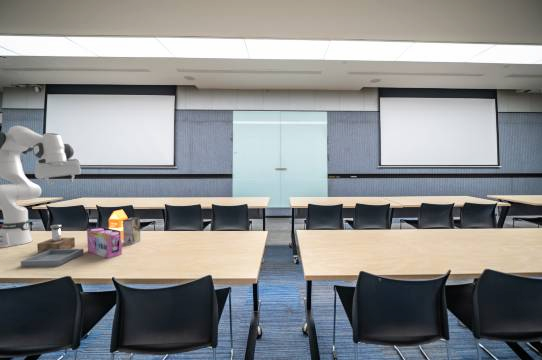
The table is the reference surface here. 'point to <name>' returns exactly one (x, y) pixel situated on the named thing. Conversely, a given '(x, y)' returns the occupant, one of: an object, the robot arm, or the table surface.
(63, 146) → the robot arm
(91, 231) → the gum box
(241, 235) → the table surface
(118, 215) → the orange juice
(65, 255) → the tray
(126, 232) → the coffee box
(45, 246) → the block
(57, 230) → the lock pin
